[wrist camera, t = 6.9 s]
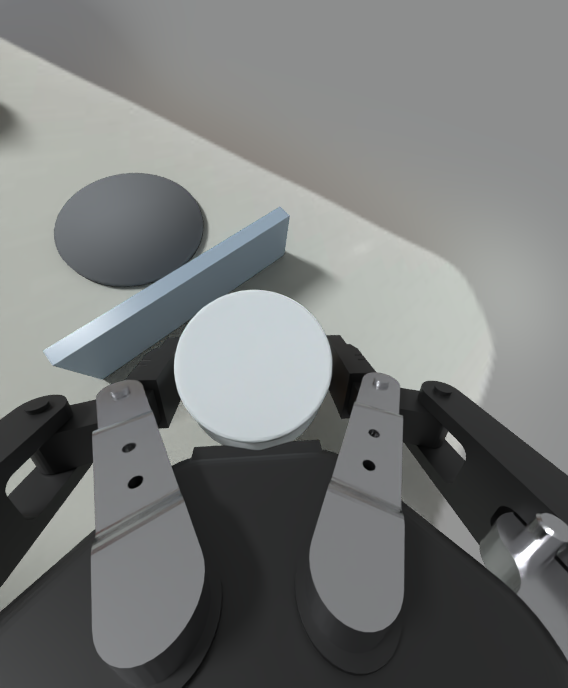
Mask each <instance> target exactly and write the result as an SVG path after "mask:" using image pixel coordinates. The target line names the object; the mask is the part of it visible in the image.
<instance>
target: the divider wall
mask: <svg viewBox="0 0 568 688" xmlns="http://www.w3.org/2000/svg"><path fill="white" fill-rule="evenodd" d="M289 217H290V216H289V215H288V214H287V213H286V212H285V211H284V210H283V209H282V208H281V207H278V208H277V209H275V210H273V211H272V212H270V213H268V214H267V215H265V216H263V217H262V218H260V219H259V220H257V221H255V222H254V223H252V224H250V225H249V226H247V227H245V228H244V229H242V230H240V231H239V232H237V233H236V234H234V235H232V236H231V237H229V238H227V239H226V240H224V241H222V242H221V243H219V244H218V245H216V246H214V247H213V248H211V249H209V250H208V251H206V252H204V253H203V254H201V255H199V256H198V257H196V258H195V259H193V260H191V261H190V262H188V263H186V264H185V265H183V266H181V267H180V268H178V269H176V270H175V271H173V272H172V273H170V274H168V275H167V276H165V277H163V278H162V279H160V280H158V281H157V282H155V283H153V284H152V285H150V286H149V287H147V288H145V289H144V290H142V291H140V292H139V293H137V294H135V295H134V296H132V297H130V298H129V299H127V300H126V301H124V302H122V303H121V304H119V305H117V306H116V307H114V308H112V309H111V310H109V311H107V312H106V313H104V314H103V315H101V316H99V317H98V318H96V319H94V320H93V321H91V322H89V323H88V324H86V325H84V326H83V327H81V328H80V329H78V330H76V331H75V332H73V333H71V334H70V335H68V336H66V337H65V338H63V339H61V340H60V341H58V342H57V343H55V344H53V345H52V346H50V347H48V348H47V349H45V350H43V352H44V353H45V355H46V356H47V358H48V359H49V361H50V362H51V364H52V365H53V366H56V367H59V368H63V369H67V370H70V371H74V372H77V373H81V374H85V375H88V376H92V377H95V378H99V379H104V378H105V377H107V376H108V375H110V374H111V373H113V372H114V371H116V370H117V369H119V368H120V367H121V366H123V365H124V364H126V363H127V362H129V361H130V360H132V359H133V358H135V357H136V356H137V355H139V354H140V353H142V352H143V351H145V350H146V349H148V348H149V347H151V346H152V345H153V344H155V343H156V342H158V341H159V340H161V339H162V338H164V337H165V336H167V335H168V334H169V333H171V332H172V331H174V330H175V329H177V328H178V327H180V326H181V325H183V324H184V323H186V322H187V321H188V320H190V319H191V318H193V317H194V316H195V315H196V314H197V313H198V312H199V311H200V310H201V309H202V308H203V307H205V306H206V305H207V304H209V303H211V302H212V301H214V300H216V299H217V298H219V297H222V296H224V295H226V294H228V293H229V292H231V291H232V290H234V289H235V288H236V287H238V286H239V285H241V284H242V283H244V282H245V281H247V280H248V279H250V278H251V277H252V276H254V275H255V274H257V273H258V272H260V271H261V270H263V269H264V268H266V267H267V266H269V265H270V264H271V263H273V262H274V261H276V260H277V259H279V258H280V257H282V256H283V255H284V252H285V245H286V238H287V231H288V224H289Z"/></svg>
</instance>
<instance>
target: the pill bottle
mask: <svg viewBox="0 0 568 688" xmlns="http://www.w3.org/2000/svg"><path fill="white" fill-rule="evenodd" d="M174 375H175V382H176V386H177V390H178V393H179V396H180V398H181V400H182V402H183V404H184V406H185V407H186V409H187V411H188V412H189V413H190V415H191V416H192V417H193V418H194V419H195V420H196V421H197V422H198V424H199V425H200V427H201V428H202V429H203V430H204V431H205V432H206V433H207V434H208V435H209V436H210V437H211V438H212V439H214V440H215V441H217V442H218V443H220V444H222V445H227V446H234V447H240V448H246V449H252V450H262V449H265V448H269V447H272V446H276V445H279V444H283V443H286V442H290V441H293V440H295V439H296V438H297V437H298V436H300V435H301V434H302V433H303V432H304V431H305V430H306V429H307V428H308V426H309V425H310V424H311V422H312V421H313V419H314V418H315V416H316V415H317V413H318V410H319V408H320V406H321V404H322V402H323V400H324V398H325V396H326V394H327V392H328V389H329V386H330V382H331V377H332V354H331V349H330V345H329V342H328V339H327V336H326V334H325V332H324V330H323V328H322V327H321V325H320V323H319V322H318V321H317V319H316V318H315V317H314V316H313V315H312V314H311V313H310V312H309V311H308V310H307V309H306V308H305V307H303V306H302V305H301V304H300V303H298V302H296V301H295V300H293V299H291V298H289V297H287V296H284V295H282V294H279V293H275V292H271V291H265V290H244V291H238V292H234V293H230V294H227V295H224V296H222V297H219V298H217V299H216V300H214V301H212V302H211V303H209V304H207V305H206V306H205V307H203V308H202V309H201V310H200V311H199V312H198V313H197V314H196V315H195V316H194V317H193V318H192V319H191V321H190V322H189V323H188V325H187V326H186V328H185V329H184V331H183V333H182V335H181V337H180V339H179V342H178V345H177V349H176V353H175V359H174Z"/></svg>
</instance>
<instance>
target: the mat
mask: <svg viewBox="0 0 568 688" xmlns="http://www.w3.org/2000/svg"><path fill="white" fill-rule="evenodd" d="M202 235H203V219H202V215H201V211H200V209H199V206H198V204H197V202H196V201H195V199H194V198H193V197H192V195H191V194H190V193H189V192H188V191H187V190H186V189H185V188H183V187H182V186H180V185H179V184H177V183H175V182H173V181H171V180H169V179H166V178H164V177H160V176H157V175H152V174H144V173H127V174H119V175H114V176H110V177H106V178H103V179H100V180H98V181H95V182H93V183H91V184H89V185H87V186H86V187H84V188H82V189H81V190H79V191H78V192H77V193H76V194H74V195H73V196H72V197H71V198H70V199H69V200H68V201H67V202H66V204H65V205H64V206H63V208H62V209H61V211H60V213H59V215H58V217H57V220H56V223H55V228H54V239H55V244H56V247H57V250H58V252H59V254H60V256H61V257H62V259H63V260H64V261H65V262H66V263H67V264H68V265H69V266H70V267H71V268H72V269H73V270H75V271H76V272H77V273H78V274H80V275H82V276H83V277H85V278H87V279H89V280H91V281H94V282H97V283H100V284H104V285H110V286H120V287H128V286H138V285H144V284H148V283H152V282H155V281H158V280H160V279H162V278H163V277H165V276H167V275H168V274H170V273H172V272H173V271H175V270H176V269H178V268H180V267H181V266H183V265H185V264H186V263H187V262H188V261H189V260H190V258H191V257H192V256H193V255H194V253H195V252H196V250H197V249H198V246H199V244H200V242H201V239H202Z"/></svg>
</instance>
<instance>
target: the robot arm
mask: <svg viewBox="0 0 568 688" xmlns="http://www.w3.org/2000/svg"><path fill="white" fill-rule="evenodd" d="M326 336H327V339H328V342H329V345H330V349H331V354H332V377H331V382H330V386H329V391H330V393H331V396H332V398H333V400H334V403H335V405H336V407H337V410H338V412H339V414H340V417H341V419H345V418H350V419H349V422H348V426H347V429H346V432H345V436H344V439H343V442H342V446H341V449H340V452H339V454H336V453H333V452H330V451H326V450H322V448H321V445H320V441H319V440H307V441H290V442H286V443H283V444H279V445H276V446H272V447H269V448H265V449H262V450H252V449H246V448H240V447H234V446H227V445H223V446H206V447H194V450H193V454H192V457H191V458H190V459H186V460H184V461H181V462H179V463H177V464H175V465H173V466H171V464H170V461H169V458H168V455H167V452H166V449H165V446H164V443H163V440H162V438H161V435H160V432H159V428H169V426H170V423H171V421H172V419H173V416H174V414H175V412H176V409H177V407H178V405H179V402H180V400H181V398H180V396H179V393H178V390H177V386H176V382H175V375H174V359H175V353H176V349H177V345H178V342H179V339H180V338H167V339H166V341H165V342H164V343H163V344H162V346H161V347H160V348H155V349H154V350H152V351H150V352H149V353H147V354H146V355H145V357H144V358H143V359H142V361H140V363H139V364H138V366H136V367H135V369H134V370H133V371H132V372H131V373H130V375H129V376H128V377H127V378H126V379H125V380H124V381H119V382H116V383H113V384H110V385H108V386H107V387H105V388H103V389H102V390H101V391H100V392H99V393H98V394H97V396H96V400H92V401H87V402H83V403H78V404H74V405H69V403H68V401H67V399H66V397H65V396H62V395H48V396H43V397H39V398H36V399H33V400H31V401H28V402H26V403H24V404H22V405H20V406H19V407H17V408H16V409H14V410H13V411H12V412H10V413H9V414H7V415H6V416H5V417H3V418H2V419H1V420H0V587H1V586H2V585H3V583H4V582H5V581H6V579H7V578H8V577H9V575H10V574H11V573H12V571H13V570H14V569H15V567H16V566H17V565H18V563H19V562H20V561H21V559H22V558H23V557H24V555H25V554H26V553H27V551H28V550H29V548H30V547H31V546H32V544H33V543H34V542H35V540H36V539H37V538H38V536H39V535H40V534H41V532H42V531H43V530H44V528H45V527H46V526H47V524H48V523H49V522H50V520H51V519H52V518H53V516H54V515H55V514H56V512H57V511H58V510H59V508H60V507H61V505H62V504H63V503H64V501H65V500H66V499H67V497H68V496H69V495H70V493H71V492H72V491H73V489H74V488H75V487H76V485H77V484H78V483H79V481H80V480H81V479H82V477H83V476H84V475H85V473H86V472H87V471H88V469H89V468H90V466H91V465H92V463H93V472H94V500H95V530H93V531H92V532H91V533H90V534H89V535H88V536H87V537H85V538H84V539H83V540H82V541H81V542H80V543H79V544H77V545H76V546H75V547H74V548H73V549H72V550H71V551H69V552H68V553H67V554H66V555H65V556H64V557H63V558H61V559H60V560H59V561H58V562H57V563H56V564H55V565H53V566H52V567H51V568H50V569H49V570H48V571H47V572H45V573H44V574H43V575H42V576H41V577H40V578H39V579H37V580H36V581H35V582H34V583H33V584H32V585H31V586H29V587H28V588H27V589H26V590H25V591H24V592H23V593H21V594H20V595H19V596H18V597H17V598H16V599H15V600H13V601H12V602H11V603H10V604H9V605H8V606H7V607H5V608H4V609H3V610H2V611H1V612H0V688H568V476H567V475H566V474H565V473H564V472H562V471H561V470H560V469H558V468H557V467H556V466H555V465H553V464H552V463H551V462H549V461H548V460H547V459H545V458H544V457H543V456H542V455H541V454H539V453H538V452H537V451H535V450H534V449H533V448H532V447H530V446H529V445H528V444H526V443H525V442H524V441H523V440H521V439H520V438H519V437H518V436H516V435H515V434H514V433H512V432H511V431H510V430H508V429H507V428H506V427H505V426H503V425H502V424H501V423H500V422H498V421H497V420H496V419H494V418H493V417H492V416H491V415H489V414H488V413H487V412H485V411H484V410H483V409H482V408H480V407H479V406H478V405H477V404H475V403H474V402H473V401H471V400H470V399H469V398H468V397H466V396H465V395H464V394H462V393H461V392H460V391H459V390H457V389H456V388H454V387H452V386H450V385H448V384H445V383H442V382H438V381H426V382H424V383H423V384H422V386H421V389H420V391H416V390H410V389H404V388H400V384H399V383H398V381H397V380H395V379H394V378H393V377H391V376H389V375H386V374H383V373H377V372H376V371H375V370H374V369H373V368H372V366H371V365H370V364H369V362H368V361H367V360H366V359H365V357H364V356H362V354H361V352H360V351H359V350H358V349H357V348H355V347H354V346H352V345H351V344H346V343H345V341H344V340H343V339H342V337H341V336H340V335H326ZM448 431H449V432H450V433H451V434H452V435H453V436H454V437H455V438H456V439H457V440H458V441H459V442H460V444H461V445H462V446H463V448H464V450H465V453H466V461H465V460H464V459H463V458H462V457H461V456H460V455H459V454H458V453H457V452H456V451H455V450H454V449H453V447H452V446H451V445H450V444H449V443H448V442H447V441H446V440H445V437H446V435H447V433H448ZM403 442H404V443H405V444H406V446H407V447H408V449H409V450H410V451H411V453H412V454H413V455H414V457H415V458H416V459H417V461H418V462H419V464H420V465H421V466H422V468H423V469H424V470H425V472H426V473H427V474H428V476H429V477H430V479H431V480H432V481H433V483H434V484H435V485H436V487H437V488H438V489H439V491H440V492H441V494H442V495H443V496H444V498H445V499H446V500H447V502H448V503H449V504H450V506H451V507H452V508H453V510H454V511H455V512H456V514H457V515H458V517H459V518H460V519H461V521H462V522H463V523H464V525H465V526H466V527H467V529H468V530H469V532H470V533H471V534H472V536H473V537H474V538H475V540H476V541H477V542H478V544H479V545H480V554H481V557H482V560H483V562H484V564H485V566H486V568H485V567H484V566H483V565H482V564H480V563H479V562H478V561H477V560H475V559H474V558H473V557H472V556H470V555H469V554H468V553H467V552H465V551H464V550H463V549H462V548H460V547H459V546H458V545H457V544H455V543H454V542H453V541H452V540H450V539H449V538H448V537H446V536H445V535H444V534H443V533H442V532H440V531H439V530H438V529H436V528H435V527H434V526H433V525H431V524H430V523H429V522H428V521H426V520H425V519H424V518H423V517H421V516H420V515H419V514H418V513H416V512H415V511H414V510H413V509H411V508H410V507H409V506H408V505H406V504H405V503H404V502H403V501H401V488H402V443H403ZM29 458H31V459H32V461H33V462H34V464H35V465H36V468H35V469H34V470H33V471H32V472H31V473H30V474H29V475H28V476H27V477H26V478H25V479H24V480H23V481H22V482H21V483H20V484H19V485H18V486H17V487H16V488H15V489H14V490H13V491H12V492H11V493H10V494H9V496H8V497H7V495H6V492H5V488H6V484H7V482H8V480H9V478H10V477H11V476H12V475H13V473H14V472H15V471H17V470H18V469H19V468H20V467H21V466H22V465H23V464H24V463H25V462H26V461H27V460H28V459H29Z"/></svg>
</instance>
